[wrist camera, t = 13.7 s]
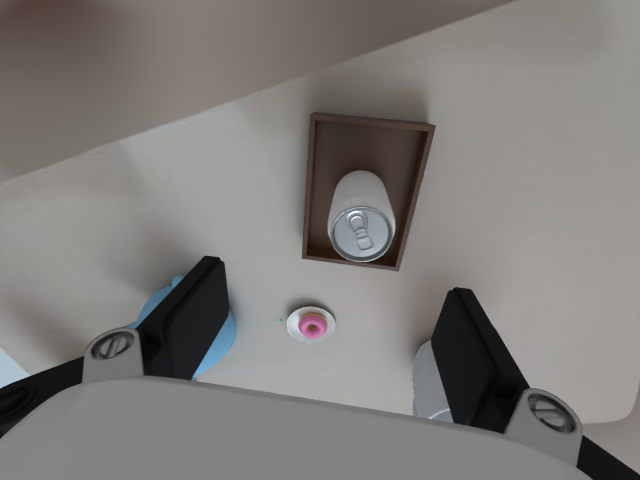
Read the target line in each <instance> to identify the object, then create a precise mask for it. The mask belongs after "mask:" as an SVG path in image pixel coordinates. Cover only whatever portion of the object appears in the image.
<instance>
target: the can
mask: <svg viewBox="0 0 640 480" xmlns="http://www.w3.org/2000/svg"><path fill="white" fill-rule="evenodd" d="M394 233H395V219H394V215H393V211H392V208H391V205H390V202H389V199H388V195H387V192H386V189H385V187H384V184H383V182H382V181H381V180H380V178H379V177H378V176H376V175H375V174H373V173H371V172H368V171H363V170H357V171H353V172H351V173H349V174H347V175H345V176H344V177H343V178H342V179H341V180H340V181H339V183H338V184H337V186H336V189H335V193H334V197H333V201H332V205H331V209H330V214H329V218H328V234H329V237H330V240H331V242H332V245H333V247H334V249H335V250H336V251H337V252H338V253H339V254H340V255H341V256H342V257H344V258H346V259H348V260H351V261H355V262H368V261H372V260H375V259H377V258H379V257H380V256H382V255H383V254H384V253H385V252H386V251H387V250H388V248H389V247H390V245H391V242H392V239H393V236H394Z"/></svg>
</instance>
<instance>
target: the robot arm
mask: <svg viewBox="0 0 640 480" xmlns="http://www.w3.org/2000/svg"><path fill="white" fill-rule="evenodd" d="M228 315H229V301H228V292H227V283H226V274H225V265H224V262H223V261H221V260H220V258H219V257H212V256H204V257H203V258H202V259H201V260H200V261H199V262H198V263H197V264H196V265H195V267H194V268H193V269H192V270H191V271H190V272H189V273H188V274H187V275H186V276H185V277H184V278H183V279H182V280H181V281H180V282H179V283H178V284H177V285H176V286H175V287H174V288H173V290H172V291H171V292H170V293H169V294H168V295H167V296H166V297H165V298H164V299H163V300H162V301H161V302H160V303H159V304H158V305H157V306H156V307H155V308H154V309H153V310H152V312H151V313H150V314H149V315H148V316H147V317H146V318H145V319H144V320H143V321H142V322H141V323H140V324H139V325H138V326H137V327H136V328H135V329H133V328H129V327H121V328H116V329H112V330H110V331H107V332H105V333H103V334H101V335H99V336H98V337H96V338H95V339H94V340H93V341H92V342H91V343H90V344H89V345H88V346H87V348H86V351H85V355H84V356H82V357H80V358H77V359H74V360H72V361H69V362H66V363H64V364H61V365H58V366H56V367H53V368H50V369H48V370H45V371H43V372H40V373H37V374H35V375H32V376H30V377H27V378H24V379H21V380H19V381H16V382H13V383H11V384H9V385H7V386H4V387H2V388H1V389H0V480H640V475H639V474H638V473H636V472H635V471H634V470H632V469H631V468H629V467H628V466H626V465H625V464H623V463H622V462H621V461H619V460H618V459H617V458H615V457H614V456H612V455H611V454H609V453H608V452H607V451H605V450H604V449H602V448H601V447H599V446H598V445H596V444H595V443H594V442H592V441H591V440H589V439H588V438H586V437H585V436H584V435H583V428H582V424H581V422H580V419H579V417H578V416H577V415H576V413H575V412H574V411H573V410H572V409H571V408H570V407H569V406H568V405H567V404H566V403H565V402H564V401H562V400H561V399H559V398H558V397H557V396H555V395H553V394H551V393H549V392H547V391H544V390H541V389H537V388H530V387H529V385H528V383H527V381H526V380H525V378H524V376H523V375H522V373H521V371H520V370H519V368H518V366H517V365H516V363H515V361H514V359H513V358H512V356H511V354H510V353H509V351H508V349H507V348H506V346H505V344H504V342H503V341H502V339H501V337H500V336H499V334H498V332H497V331H496V329H495V328H494V327H493V326H492V324H491V322H490V320H489V319H488V317H487V315H486V314H485V312H484V310H483V308H482V307H481V305H480V303H479V302H478V300H477V298H476V296H475V295H474V293H473V291H472V290H471V289H466V288H458V287H455V288H454V289H453V290H449V291H448V293H447V296H446V299H445V302H444V304H443V307H442V310H441V313H440V316H439V318H438V321H437V324H436V327H435V329H434V332H433V335H432V338H431V347H432V351H433V354H434V358H435V361H436V364H437V368H438V371H439V375H440V378H441V381H442V385H443V388H444V392H445V395H446V399H447V402H448V405H449V409H450V412H451V416H452V419H453V422H454V423H450V422H444V421H439V420H433V419H428V418H422V417H416V416H410V415H404V414H398V413H392V412H386V411H380V410H374V409H368V408H362V407H356V406H350V405H344V404H338V403H332V402H326V401H319V400H313V399H307V398H301V397H295V396H288V395H282V394H276V393H270V392H263V391H257V390H250V389H244V388H237V387H231V386H225V385H218V384H212V383H205V382H197V381H191V379H192V377H193V376H194V374H195V372H196V371H197V369H198V367H199V366H200V364H201V362H202V360H203V359H204V357H205V355H206V354H207V352H208V350H209V348H210V347H211V345H212V343H213V342H214V340H215V338H216V337H217V335H218V333H219V331H220V330H221V328H222V326H223V325H224V323H225V321H226V319H227V318H228Z"/></svg>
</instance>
